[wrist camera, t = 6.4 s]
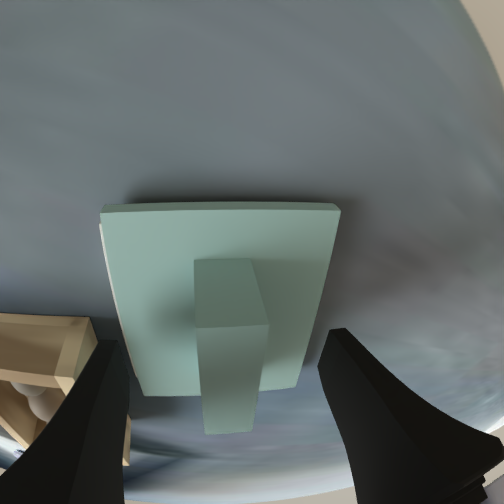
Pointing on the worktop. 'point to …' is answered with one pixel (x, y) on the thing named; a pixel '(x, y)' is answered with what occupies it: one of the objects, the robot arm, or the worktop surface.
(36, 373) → the box
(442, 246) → the worktop surface
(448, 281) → the worktop surface
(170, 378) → the lid
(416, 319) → the worktop surface
